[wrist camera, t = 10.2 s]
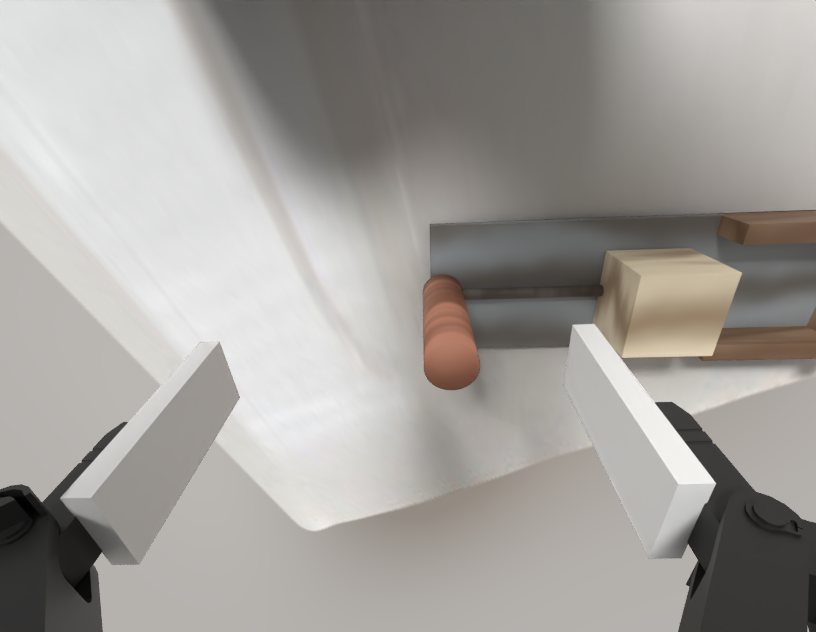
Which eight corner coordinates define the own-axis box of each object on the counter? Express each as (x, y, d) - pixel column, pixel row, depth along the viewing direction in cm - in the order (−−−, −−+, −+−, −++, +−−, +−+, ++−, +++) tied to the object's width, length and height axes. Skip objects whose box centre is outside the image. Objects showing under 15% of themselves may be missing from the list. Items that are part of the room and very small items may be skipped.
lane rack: (429, 224, 34) (431, 240, 30) (873, 207, 32) (946, 221, 28) (432, 344, 39) (433, 373, 35) (811, 336, 38) (864, 365, 33)
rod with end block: (421, 256, 34) (422, 319, 24) (690, 247, 33) (818, 309, 23) (423, 327, 37) (425, 410, 27) (669, 321, 36) (773, 405, 26)
